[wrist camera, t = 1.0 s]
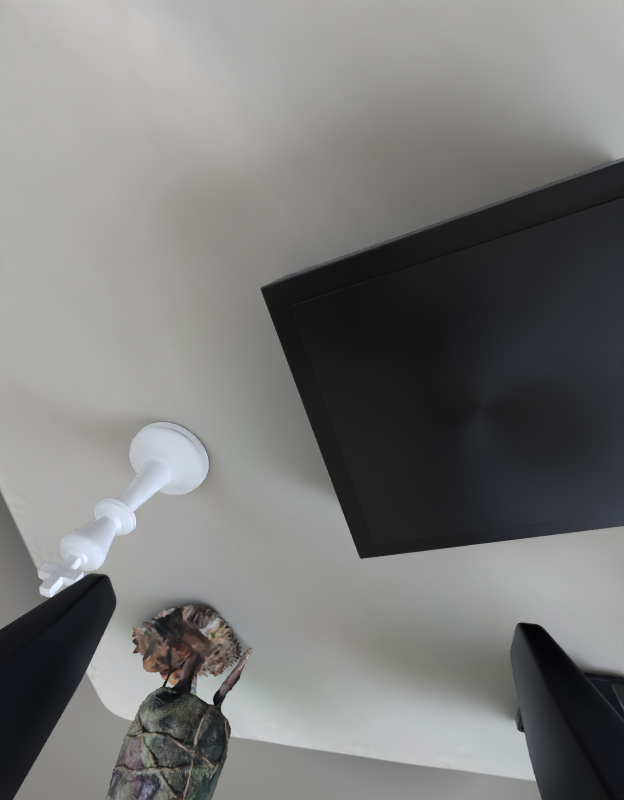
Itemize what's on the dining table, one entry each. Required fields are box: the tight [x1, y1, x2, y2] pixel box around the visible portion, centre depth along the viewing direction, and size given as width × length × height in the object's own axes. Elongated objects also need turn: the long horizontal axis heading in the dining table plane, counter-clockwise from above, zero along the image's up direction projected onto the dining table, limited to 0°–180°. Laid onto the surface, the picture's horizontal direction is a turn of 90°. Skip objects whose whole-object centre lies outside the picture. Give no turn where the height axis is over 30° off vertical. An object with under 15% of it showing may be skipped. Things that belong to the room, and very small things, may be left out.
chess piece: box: [37, 422, 209, 597], centre depth 20 cm, size 5×5×10 cm
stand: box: [261, 158, 624, 559], centre depth 17 cm, size 14×14×4 cm
